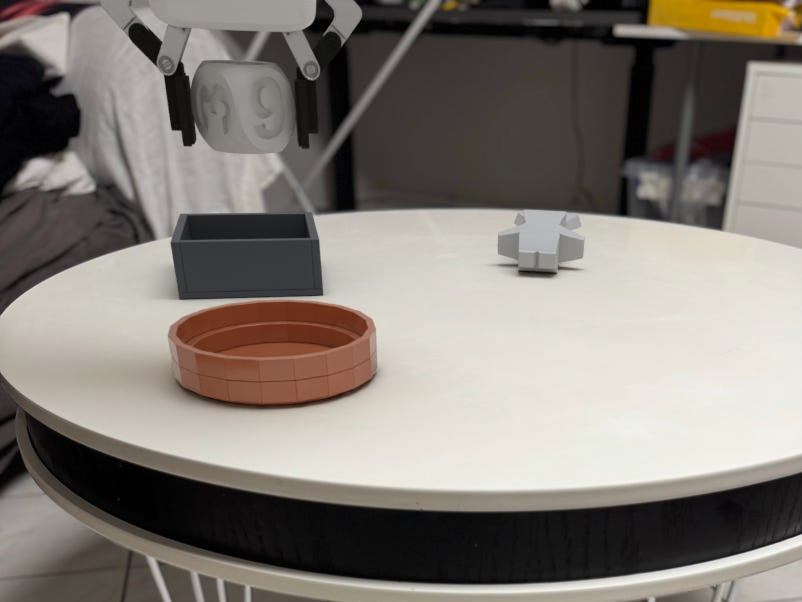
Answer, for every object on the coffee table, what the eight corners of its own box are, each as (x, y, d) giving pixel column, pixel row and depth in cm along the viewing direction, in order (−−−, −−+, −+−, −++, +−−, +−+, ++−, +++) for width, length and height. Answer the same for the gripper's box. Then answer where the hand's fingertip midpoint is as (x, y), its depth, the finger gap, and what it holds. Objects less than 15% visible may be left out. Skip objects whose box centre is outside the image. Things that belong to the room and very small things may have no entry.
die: (253, 142, 65) (246, 59, 62) (300, 150, 62) (294, 64, 59) (194, 147, 62) (184, 60, 59) (241, 156, 59) (232, 65, 56)
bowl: (169, 413, 63) (160, 363, 61) (182, 346, 75) (175, 302, 73) (387, 403, 66) (385, 354, 63) (366, 339, 78) (364, 296, 76)
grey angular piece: (492, 234, 95) (509, 192, 106) (491, 283, 98) (508, 237, 109) (583, 239, 94) (590, 196, 105) (579, 289, 97) (586, 242, 108)
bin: (179, 299, 86) (170, 242, 83) (187, 265, 97) (179, 213, 94) (323, 295, 89) (319, 239, 86) (315, 262, 100) (312, 212, 97)
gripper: (38, -236, 47) (106, 150, 57) (373, -206, 50) (380, 155, 60) (63, -211, 53) (120, 135, 63) (361, -185, 56) (369, 140, 66)
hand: (247, 142), depth 62 cm, fingers closed on die, 7 cm apart
